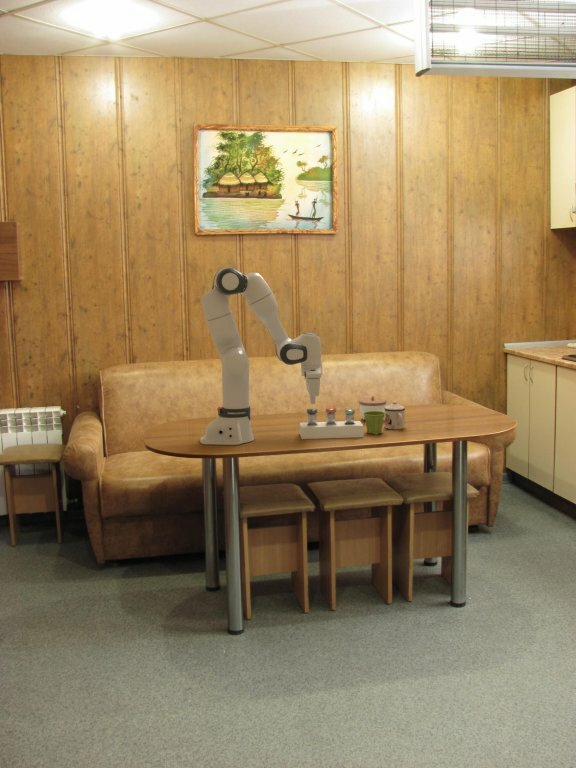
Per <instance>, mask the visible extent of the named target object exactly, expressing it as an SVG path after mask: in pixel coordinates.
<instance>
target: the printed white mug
mask: <svg viewBox="0 0 576 768" xmlns="http://www.w3.org/2000/svg"><path fill="white" fill-rule="evenodd" d="M384 409H385V415H384V428H385V429H387V428H388V430H401V429H402V428H403V429H404V428H405V415H406V414H405V412H406V411H405V410H406V408H405V406H402V405H400V404H399V403H398V401H392V403H391V404H389V405H386V407H385V408H384Z"/></svg>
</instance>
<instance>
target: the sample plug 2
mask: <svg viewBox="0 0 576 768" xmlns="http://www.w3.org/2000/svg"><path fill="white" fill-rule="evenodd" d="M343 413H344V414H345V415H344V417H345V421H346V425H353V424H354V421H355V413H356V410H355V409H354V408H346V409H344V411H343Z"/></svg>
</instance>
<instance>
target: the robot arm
mask: <svg viewBox="0 0 576 768" xmlns="http://www.w3.org/2000/svg"><path fill="white" fill-rule="evenodd" d="M211 288H212V289H210V290H207V291H206V292H205V293H204V294H203V295H202V297H201V305H202V310H203V311H202V312H203V315H204V317H205V321H206V324H207V327H208V330H209V333H210V335H211V338H212V340H213V344H214V346H215V349H216V351H217V354H218V356H219V357H218V358H219V360H220V362H221V378H222V379H221V381H222V383H221V387H222V388H221V389H222V391H221V393H222V406H217V409H216V410H217V415H218V416H216V418H214V419H213V420H212V421H211V422H209V424H207V426H206V428H205V433H204V435H202V436H201V437H200V439H199V442H200V444H202V445H221V446H222V445H232V446H237V445H238V446H239V445H242V444H245V443H249V442H253V441H254V440H255V437H254V435H253V434H254V433H253V429H252V424H251V420H252V419H251V418H252V408H251V406H250V359H249V357H248V354H247V352H246V348H245V347H244V343H243V340H242V338H241V335H240V332H239V328H238V326H237V323H236V321H235V318H234V314H233V312H232V309H231V307H230V303H229V299H230V297H231V296H232V295H238V294H241V295H242V296H243V298H244V299H245V301H246V303H247V304H248V306H249V308H250V310H251V311H252V313H253V314H254V315H255V317H257V319H259V321H260V322H261V323H262V324H263V325H264V326H265V328H266V330H268V332H269V335H270V336H271V339H272V341H273V343H274V346H275V354H276V357H277V358H278V360H279V361H280V362H282V363H283V364H285V365H287V366H293V365H297V364H300V365H301V366H300V370H301V372H300V373H301V376H302V377H304V380H305V384H306V385H305V387H306V390H307V392H308V393H309V394H308V395H309V399H310V401H309V402H310V404H311V405H315V404H316V397H319V396H320V390H321V389H320V387H321V378H322V376H323V362H322V355H323V353H322V351H323V350H322V340H321V338H320V336H319V335H318V334H316V333H313V332H302V333H301V334H300V335H298V336H296V337H295V338H293V339H291V338H290V337H289V335H288V334H287V331H286V330H285V328H284V327H283V324H282V322H281V321H280V318H279V305H278V302H277V300H276V299H277V298H276V296H275V294H274V293H273V291H272V289H271V287H270V286H269V285H268V283H267V281H266V280H265V278H264V277H263V276H262V275H261V274H260V273H258V272H250V273H247V274H244V273H242V272H240V271H239V270H237V269H235V268H233V267H228V266H226V267H223V268H221V269H219V270H218V271H216V273H215V275H214V277H213V281H212V287H211Z"/></svg>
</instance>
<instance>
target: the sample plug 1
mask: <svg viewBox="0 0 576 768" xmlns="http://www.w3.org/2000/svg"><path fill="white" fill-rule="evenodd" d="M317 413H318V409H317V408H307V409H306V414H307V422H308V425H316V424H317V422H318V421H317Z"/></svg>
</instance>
